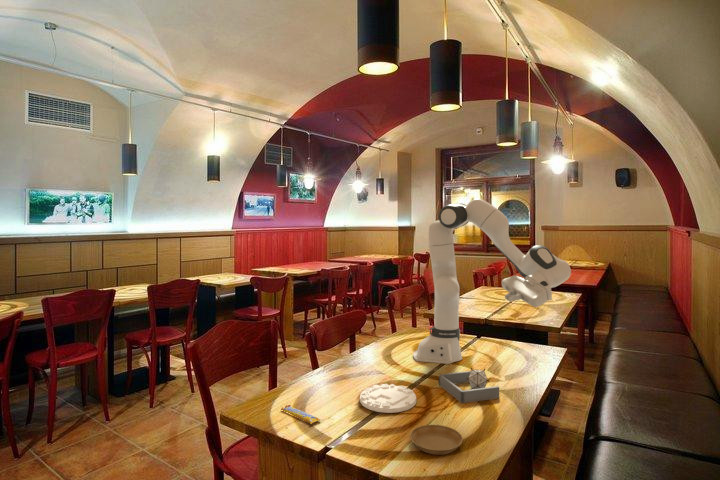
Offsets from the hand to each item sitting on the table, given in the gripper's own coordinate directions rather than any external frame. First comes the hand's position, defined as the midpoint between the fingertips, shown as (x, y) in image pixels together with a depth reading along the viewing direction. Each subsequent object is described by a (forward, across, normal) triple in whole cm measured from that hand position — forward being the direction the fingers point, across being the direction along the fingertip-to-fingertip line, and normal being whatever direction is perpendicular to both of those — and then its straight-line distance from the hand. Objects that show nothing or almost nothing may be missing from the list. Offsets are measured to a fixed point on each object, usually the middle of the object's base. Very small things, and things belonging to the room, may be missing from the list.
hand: (507, 298), depth 172 cm
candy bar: (+90, +8, -1) cm, 90 cm away
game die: (+27, +12, +22) cm, 37 cm away
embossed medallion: (+60, +8, +10) cm, 62 cm away
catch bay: (+30, +11, +21) cm, 39 cm away
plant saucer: (+57, +40, +3) cm, 70 cm away
